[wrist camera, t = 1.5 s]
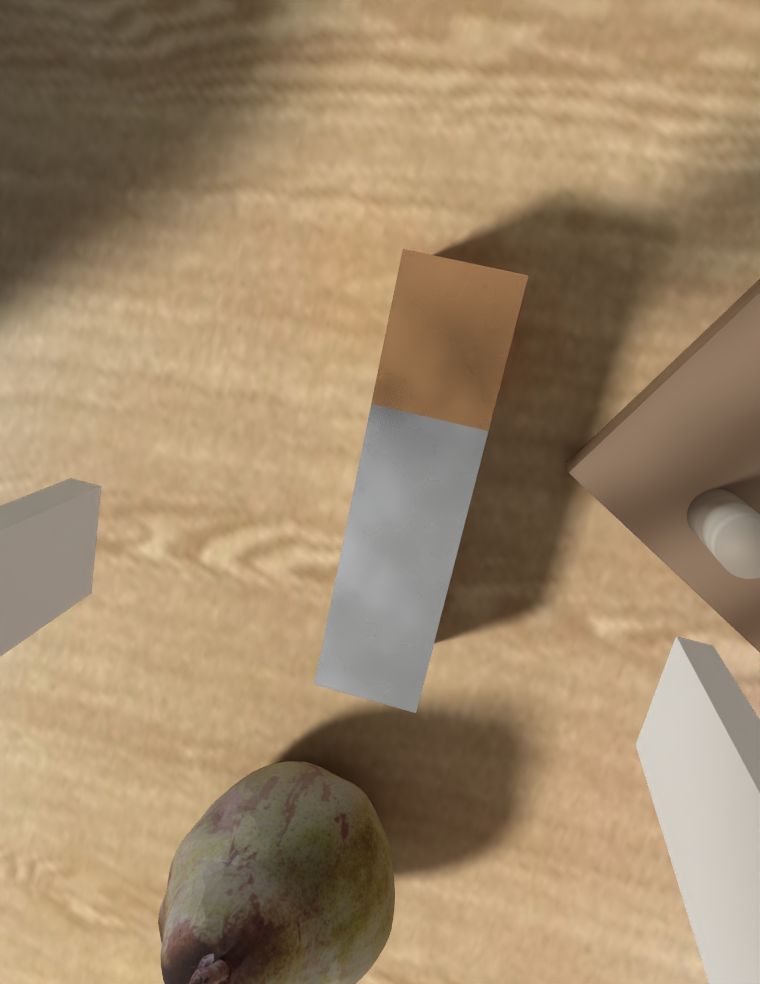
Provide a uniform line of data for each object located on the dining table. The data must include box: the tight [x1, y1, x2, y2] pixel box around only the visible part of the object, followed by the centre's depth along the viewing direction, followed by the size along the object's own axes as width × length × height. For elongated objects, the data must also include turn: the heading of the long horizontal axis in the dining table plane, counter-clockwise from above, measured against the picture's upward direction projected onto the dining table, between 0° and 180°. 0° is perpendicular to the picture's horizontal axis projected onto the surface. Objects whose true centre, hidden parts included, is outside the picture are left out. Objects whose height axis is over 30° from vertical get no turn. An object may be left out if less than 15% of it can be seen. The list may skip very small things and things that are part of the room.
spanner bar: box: [314, 249, 529, 713], centre depth 26 cm, size 16×4×6 cm, turn 168°
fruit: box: [158, 761, 395, 984], centre depth 29 cm, size 10×9×12 cm
